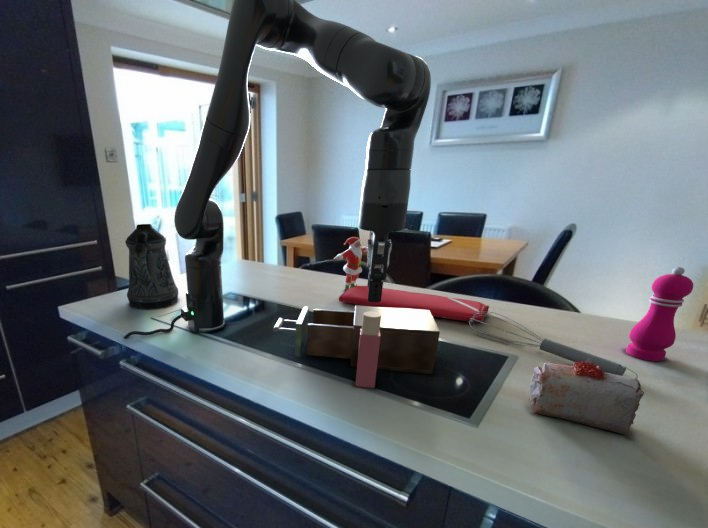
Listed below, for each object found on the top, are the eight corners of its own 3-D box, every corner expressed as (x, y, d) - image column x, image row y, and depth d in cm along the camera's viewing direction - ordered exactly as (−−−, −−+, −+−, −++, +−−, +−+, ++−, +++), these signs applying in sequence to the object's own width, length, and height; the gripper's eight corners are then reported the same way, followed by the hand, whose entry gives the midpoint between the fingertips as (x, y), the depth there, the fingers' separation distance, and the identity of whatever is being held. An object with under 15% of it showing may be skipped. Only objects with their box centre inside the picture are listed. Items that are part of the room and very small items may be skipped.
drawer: (270, 354, 88) (270, 321, 85) (280, 334, 100) (281, 305, 97) (366, 363, 84) (369, 329, 81) (366, 341, 95) (369, 310, 92)
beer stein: (169, 292, 140) (162, 220, 130) (189, 306, 125) (182, 226, 115) (123, 299, 132) (111, 223, 123) (137, 315, 117) (125, 230, 107)
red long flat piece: (357, 291, 138) (358, 281, 136) (488, 312, 115) (490, 300, 114) (338, 302, 126) (338, 291, 125) (479, 328, 104) (481, 315, 102)
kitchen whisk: (630, 387, 75) (642, 357, 72) (461, 334, 101) (466, 310, 98) (640, 378, 78) (652, 349, 75) (474, 329, 104) (479, 306, 101)
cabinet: (350, 366, 84) (353, 325, 80) (352, 342, 96) (355, 305, 93) (432, 374, 80) (440, 331, 77) (423, 348, 92) (429, 310, 89)
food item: (525, 414, 67) (540, 363, 63) (525, 394, 73) (539, 346, 69) (630, 441, 60) (654, 385, 56) (621, 416, 66) (642, 364, 62)
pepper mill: (655, 350, 89) (691, 264, 82) (674, 364, 83) (715, 272, 75) (616, 347, 92) (648, 262, 84) (632, 359, 85) (668, 269, 78)
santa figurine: (341, 299, 129) (345, 242, 122) (325, 296, 132) (328, 241, 125) (373, 284, 147) (378, 233, 139) (358, 281, 150) (363, 232, 143)
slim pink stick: (355, 386, 76) (362, 316, 71) (355, 378, 79) (362, 310, 73) (374, 388, 75) (382, 317, 70) (374, 380, 78) (382, 312, 73)
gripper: (361, 197, 71) (353, 283, 77) (360, 202, 58) (351, 305, 65) (404, 197, 69) (392, 285, 76) (413, 203, 57) (398, 308, 63)
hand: (373, 294), depth 70 cm, fingers open, 8 cm apart
